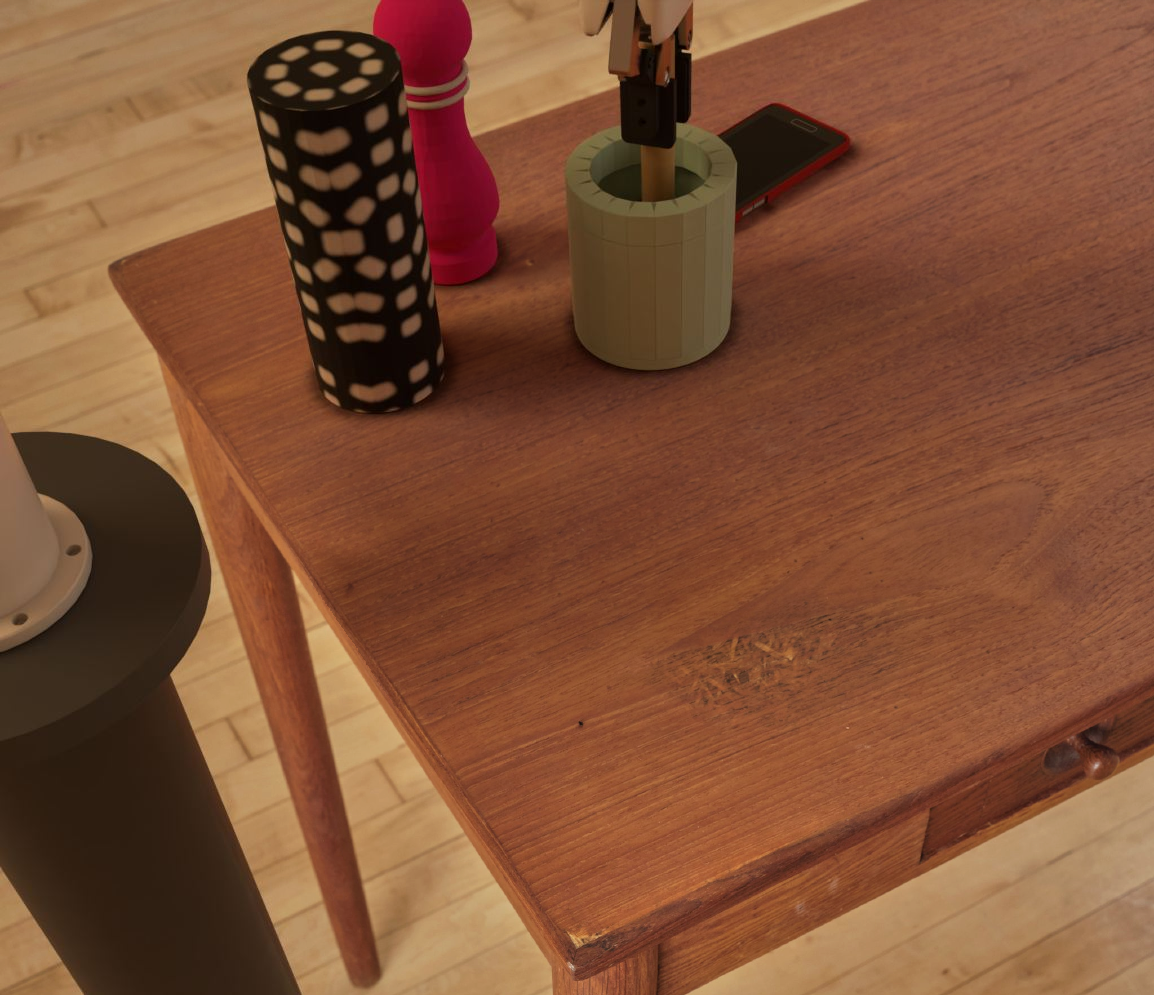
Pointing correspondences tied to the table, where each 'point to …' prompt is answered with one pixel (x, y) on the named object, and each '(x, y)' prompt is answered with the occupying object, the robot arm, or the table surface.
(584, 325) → the jar
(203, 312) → the table surface
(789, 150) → the cell phone
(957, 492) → the table surface
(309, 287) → the white-spotted black cylinder
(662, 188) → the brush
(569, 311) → the table surface
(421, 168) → the pepper mill
